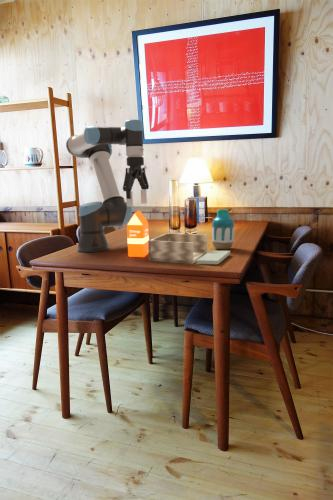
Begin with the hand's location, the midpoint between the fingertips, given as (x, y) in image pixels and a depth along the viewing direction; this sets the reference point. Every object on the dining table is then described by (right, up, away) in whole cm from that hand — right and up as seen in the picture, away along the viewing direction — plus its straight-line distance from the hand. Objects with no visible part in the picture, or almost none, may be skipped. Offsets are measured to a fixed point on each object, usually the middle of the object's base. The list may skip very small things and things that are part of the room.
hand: (137, 204), depth 174 cm
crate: (+19, -24, -3) cm, 30 cm away
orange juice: (+1, -23, +5) cm, 23 cm away
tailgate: (+30, -24, -8) cm, 39 cm away
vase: (+41, -20, +11) cm, 47 cm away
